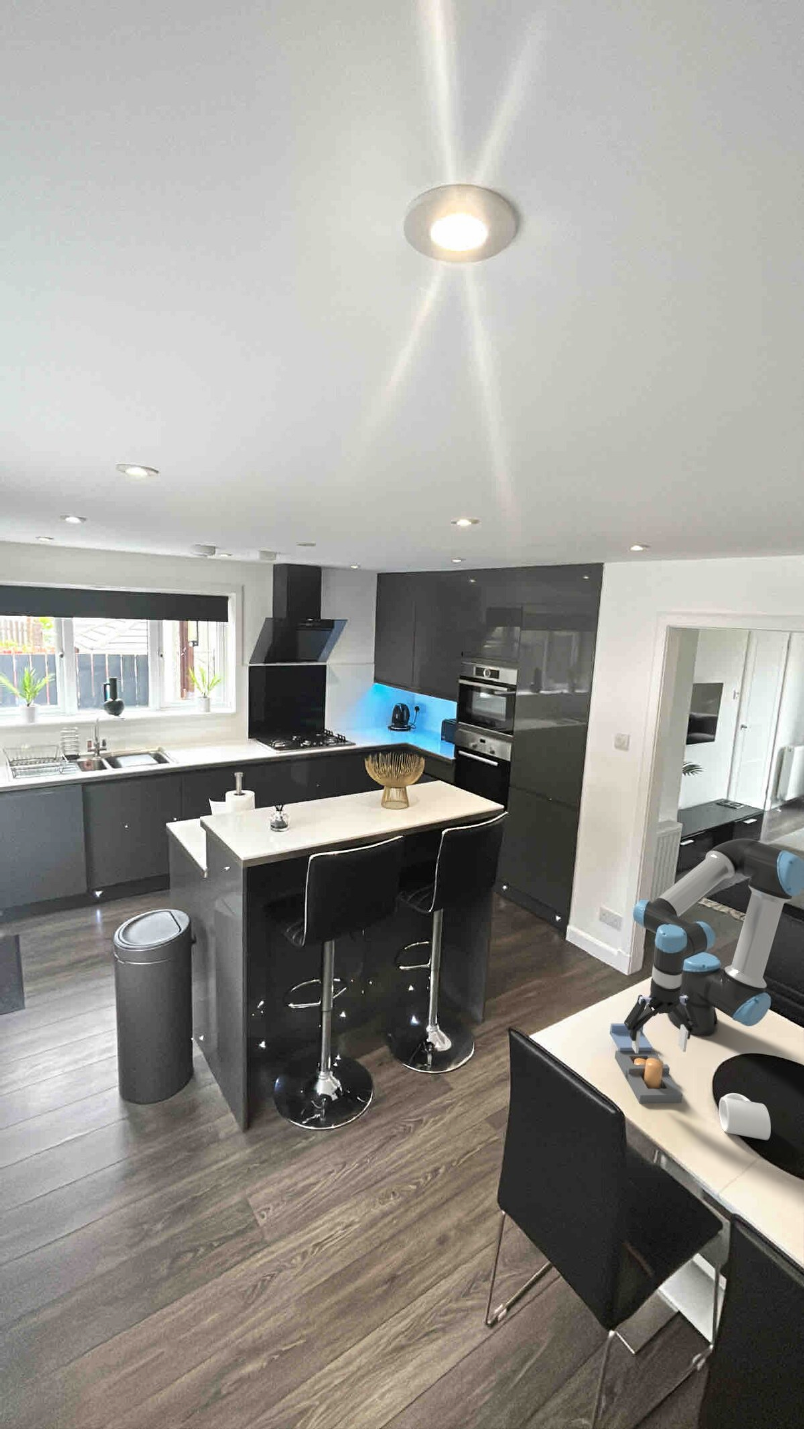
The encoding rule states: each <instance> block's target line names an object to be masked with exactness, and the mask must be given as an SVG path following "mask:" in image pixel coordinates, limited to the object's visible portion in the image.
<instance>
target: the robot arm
mask: <svg viewBox="0 0 804 1429" xmlns="http://www.w3.org/2000/svg"><path fill="white" fill-rule="evenodd" d="M705 854H706V855H705V858H704V860H703V861H701V862H700V863H699V864H698V865H697V866H695V867H693V869H692V870H690V871H689V872H688V873H686V874H685V875H684V876H683V877H681V879H678V881H677V882H675V883H674V884H673V885H672V886H670V888H668V889H667V890H665V891H664V892H663V893H662V894H660V896H659V897H657V898H655V899H654V900H653V901H650V900H647V899H641V900H639V901H637V903H636V904H635V905H634V907H633V911H632V918H633V920H634V922H636V923H637V924H638V925H639V926H640V927H643V929H646V930H648V931H650V932H652V933H653V934H655V939H654V951H653V953H654V955H653V961H652V972H651V978H650V988H649V989H650V990H649V991H650V993H649V996H647V997H646V996H643V995H642V994H639V995H638V996H637V1001H636V1003H635V1005H634V1006H633V1007H632V1009H631V1011H630V1012H629V1013H628V1015H627V1017H626V1018H625V1020H624V1022H623V1023H624V1024H625V1026H626V1027H627V1029H628V1030H630V1038H631V1040H632V1048H633V1050H634V1051H635V1053H638V1051H639V1042H640V1031H639V1029H640V1028H641V1027H642V1026H643V1025H645V1024H647V1022H649V1021H650V1020H651V1019H652V1017H655V1016H657V1015H658V1014H659V1015H662V1014H663V1015H664V1014H666V1015H667V1017H668V1020H669V1021H670V1022H671V1023H672V1024H673V1025H674V1026H675V1027H677V1028H678V1029H679V1038H678V1043H677V1044H678V1046H679V1048H680V1049H681V1050H682V1052H683V1053H686V1051H687V1045H688V1040H690V1039H691V1035H693V1036H701V1037H707V1036H712V1035H714V1034H715V1033H717V1030H718V1025H719V1020H718V1015H717V1014H718V1013H717V1011H716V1010H718V1011H720V1012H721V1013H723V1014H724V1015H726V1016H728V1017H730V1018H731V1019H732V1020H734V1021H736V1022H738V1023H740V1024H741V1025H744V1026H745V1027H753V1026H755V1025H757V1024H759V1023H760V1022H761V1021H762V1020H763V1019H764V1017H765V1016H766V1015H767V1013H768V1011H769V1010H770V1007H771V1002H772V998H771V996H770V995H769V993H767V992H766V989H767V986H768V984H767V982H766V981H765V979H764V977H763V976H764V973H765V970H766V967H767V964H768V960H769V958H770V957H769V956H770V953H771V950H772V946H773V942H774V939H775V935H776V932H777V928H778V926H779V925H778V924H779V921H780V918H781V915H782V911H783V907H784V904H785V903H787V902H791V900H792V898H793V897H797V896H798V895H800V894H801V893H802V891H803V889H804V860H803V859H802V858H801V857H800V856H799V855H795V854H794V853H792V852H790V851H788V850H784V849H781V848H779V847H778V848H777V847H775V846H772V845H769V844H767V843H763V842H762V841H761V842H760V841H758V840H756V839H752V838H737V839H731V840H728V841H725V842H722V843H721V844H718V845H716V846H714V847H713V848H712V849H710V850H709V851H708V852H707V853H705ZM735 875H742V876H744V877H746V878H748V879H749V881H748V888H749V889H750V891H751V894H750V898H749V902H748V905H747V909H746V912H745V917H744V918H743V919H744V920H743V924H742V927H741V931H740V934H739V938H738V942H737V945H736V948H735V952H734V956H733V959H732V962H731V964H730V965H728V966H726V967H724V969H723V968H722V967H721V966H722V963H721V960H720V958H718V957H717V956H716V955H713V954H711V953H707V952H706V951H707V950H709V949H711V948H712V947H714V945H715V943H716V935H715V932H714V930H713V929H712V927H711V926H710V925H709V924H708V923H706V922H704V921H693V922H690V921H688V920H686V919H684V918H682V917H681V915H683V914H684V913H685V912H686V911H688V910H689V909H690V908H691V907H692V906H694V905H695V904H696V903H697V902H698V901H699V900H700V899H702V898H703V897H704V896H705V895H707V894H708V892H710V891H711V890H712V889H714V888H715V887H716V886H718V885H719V884H720V883H722V881H723V880H724V879H730V878H732V877H734V876H735ZM635 1025H636V1026H635ZM643 1027H644V1026H643Z"/></svg>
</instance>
